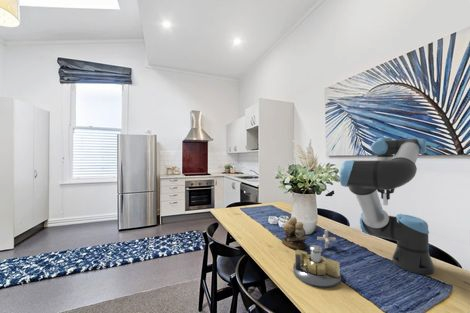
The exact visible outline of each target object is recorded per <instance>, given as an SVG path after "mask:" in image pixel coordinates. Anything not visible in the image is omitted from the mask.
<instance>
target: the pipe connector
mask: <svg viewBox="0 0 470 313" xmlns="http://www.w3.org/2000/svg"><path fill="white" fill-rule="evenodd" d="M316 238H317V239H316V240H317V241H324V248H325V249H329V245H330V244H331V242H336V241H337V238H336V237H331V236H330V237H329V230H328V229H324V234H322V236H316Z"/></svg>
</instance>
